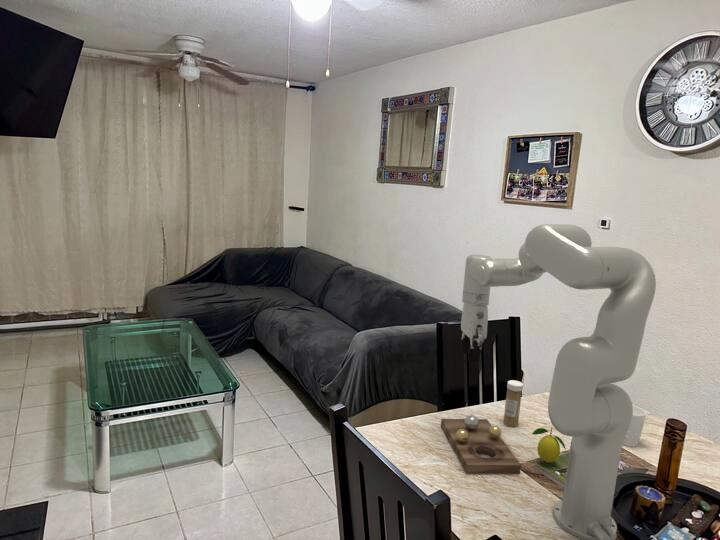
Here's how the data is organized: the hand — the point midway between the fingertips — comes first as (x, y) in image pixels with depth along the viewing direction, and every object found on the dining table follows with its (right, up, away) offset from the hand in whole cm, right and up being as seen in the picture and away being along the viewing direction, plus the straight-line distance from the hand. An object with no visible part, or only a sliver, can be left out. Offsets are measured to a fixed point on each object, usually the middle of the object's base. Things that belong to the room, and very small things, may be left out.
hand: (469, 356), depth 142 cm
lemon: (+17, -26, -14) cm, 34 cm away
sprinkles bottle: (+14, -22, +6) cm, 27 cm away
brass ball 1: (-5, -19, -11) cm, 23 cm away
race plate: (0, -24, -9) cm, 25 cm away
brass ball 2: (+5, -19, -8) cm, 22 cm away
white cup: (+46, -25, 0) cm, 52 cm away
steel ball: (0, -18, -4) cm, 19 cm away
